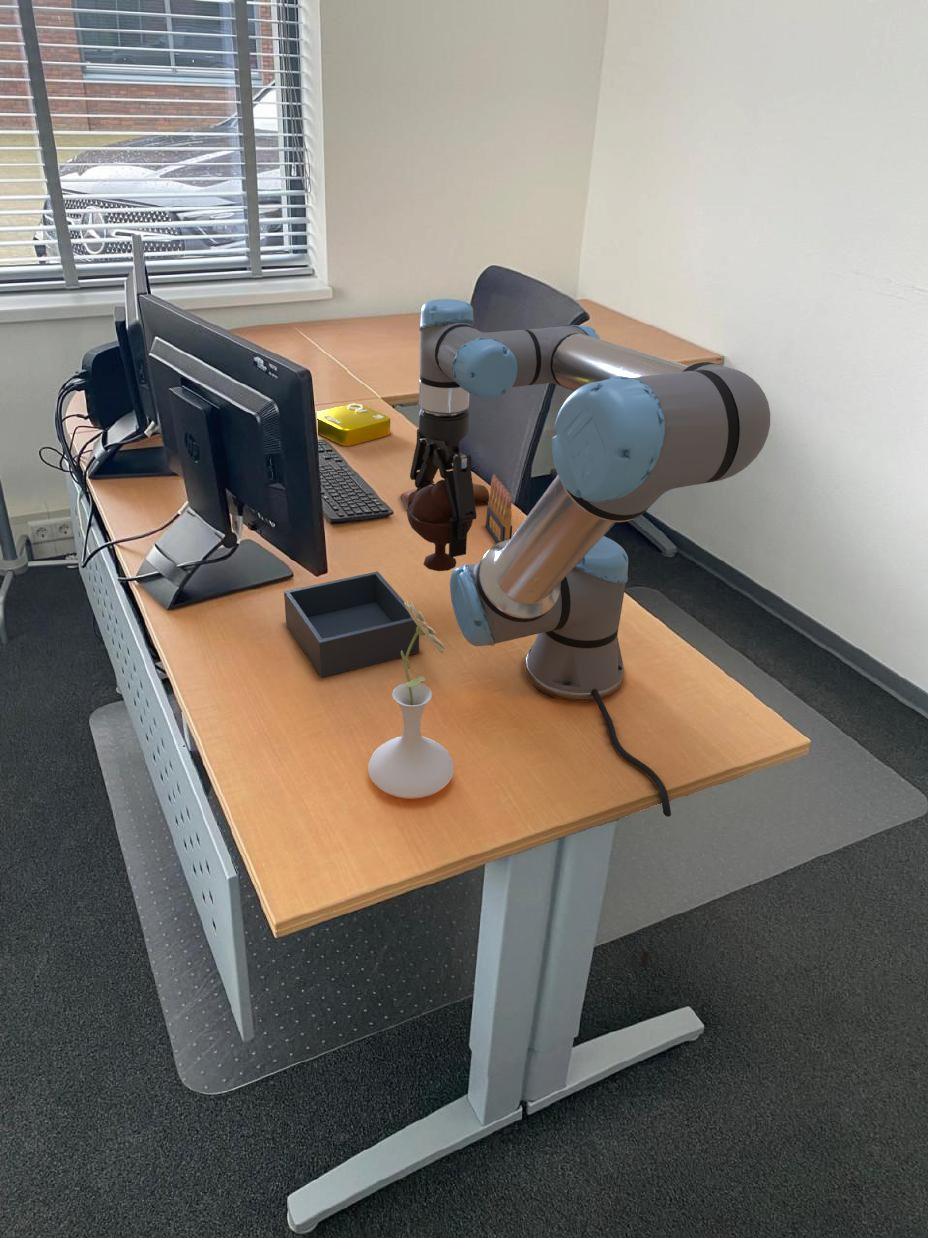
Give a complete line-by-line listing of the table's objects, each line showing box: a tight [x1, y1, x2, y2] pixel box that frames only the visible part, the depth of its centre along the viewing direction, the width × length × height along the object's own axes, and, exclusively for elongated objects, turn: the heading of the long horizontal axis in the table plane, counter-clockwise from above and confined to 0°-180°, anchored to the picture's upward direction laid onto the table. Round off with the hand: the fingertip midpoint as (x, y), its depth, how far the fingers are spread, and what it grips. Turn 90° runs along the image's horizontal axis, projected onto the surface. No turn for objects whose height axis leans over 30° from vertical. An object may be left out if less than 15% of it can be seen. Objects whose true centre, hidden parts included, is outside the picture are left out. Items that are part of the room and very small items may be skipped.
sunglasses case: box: [400, 483, 490, 511], centre depth 194 cm, size 18×7×7 cm
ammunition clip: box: [485, 473, 513, 545], centre depth 178 cm, size 11×2×12 cm, turn 17°
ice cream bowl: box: [406, 479, 474, 572], centre depth 146 cm, size 11×11×15 cm
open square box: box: [283, 571, 420, 678], centre depth 147 cm, size 17×17×6 cm
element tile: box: [316, 402, 391, 447], centre depth 226 cm, size 15×15×5 cm
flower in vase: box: [367, 600, 455, 800], centre depth 115 cm, size 13×11×25 cm
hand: (440, 539), depth 148 cm, fingers closed on ice cream bowl, 11 cm apart
